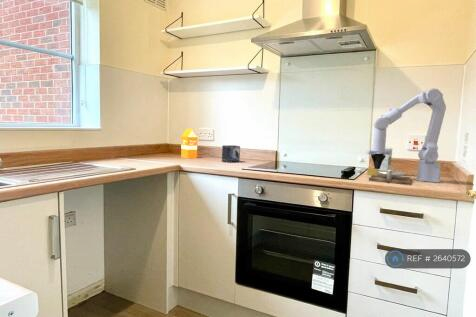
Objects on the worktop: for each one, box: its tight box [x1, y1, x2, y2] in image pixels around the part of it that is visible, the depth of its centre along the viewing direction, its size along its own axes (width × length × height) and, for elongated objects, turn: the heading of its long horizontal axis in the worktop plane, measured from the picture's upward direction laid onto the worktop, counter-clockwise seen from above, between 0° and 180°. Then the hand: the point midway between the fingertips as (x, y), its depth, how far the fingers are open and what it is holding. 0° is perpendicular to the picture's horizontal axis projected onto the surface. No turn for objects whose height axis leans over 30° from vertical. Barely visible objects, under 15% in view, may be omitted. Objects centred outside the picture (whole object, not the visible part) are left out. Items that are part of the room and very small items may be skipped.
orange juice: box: [180, 128, 198, 159], centre depth 225 cm, size 8×9×20 cm
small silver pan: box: [366, 167, 406, 177], centre depth 157 cm, size 16×12×4 cm
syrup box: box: [378, 146, 393, 174], centre depth 177 cm, size 6×6×14 cm
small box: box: [221, 144, 241, 163], centre depth 209 cm, size 11×6×10 cm, turn 131°
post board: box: [368, 171, 412, 186], centre depth 156 cm, size 17×20×5 cm
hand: (377, 168), depth 163 cm, fingers closed
